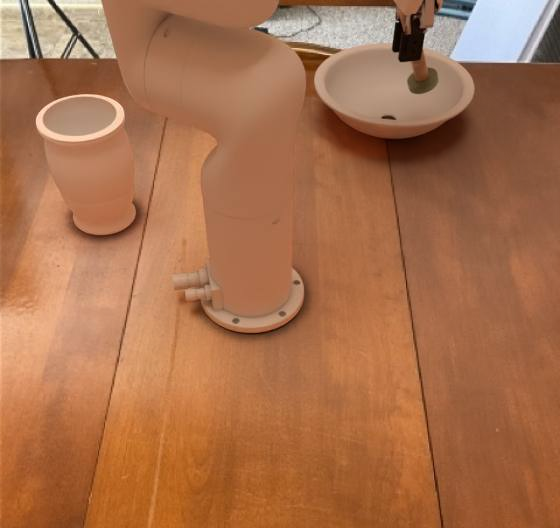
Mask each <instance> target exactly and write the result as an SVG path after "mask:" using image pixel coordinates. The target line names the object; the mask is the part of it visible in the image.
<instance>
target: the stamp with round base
mask: <svg viewBox="0 0 560 528" xmlns="http://www.w3.org/2000/svg"><path fill="white" fill-rule="evenodd" d="M398 10H399V15H400V19H401V23H402V27H403V31H405V23H406V15H405V14H404V13H403V12H402V11H401V10H400V9H399V7H398ZM415 18H416V16H414V17H413V20H414V19H415ZM411 64H412V68H413V73H412V74H411V75H410V76H409V77H408V80H407V84H408V88H409V91H410V92H411V93H414V94H423V93H427V92H429V91H431V90H432V89H434V88H435V87H436V86H437V84H438V81H439V79H438V74H437V71H436V70H435V69H434V68H429V67H427V64H426V60H425V55H424V51H423V49H422V55H421V59H420V60H418V61H411Z"/></svg>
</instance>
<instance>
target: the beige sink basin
mask: <svg viewBox="0 0 560 528" xmlns="http://www.w3.org/2000/svg"><path fill="white" fill-rule="evenodd" d="M392 43H393V42H391V43H390V42H384V43H383V42H382V43H381V42H379V43H369V44H367V43H366V44H362V45H357V46H353V47H349V48H346V49H343V50H340V51H338V52H336V53H334V54H333V55H330V56H329V57H328V58H326V59H325V60H323V61H322V63H321V64H319V66H318V67H317V69H316V71H315V73H314V78H313V86H314V90H315V92H316V94H317V96H318V98H319V99H320V100H321V101H322V102H323V103H324V105H326V107H328V108H330V109H331V110H332V111H333V113H334V114H335V115H336V116H337V117H338V118H339V119H340V120H341V121H342V122H344V124H346V125H348V126H349V127H350V128H352V129H354V130H355V131H358V132H360V133H363V134H365V135H368V136H371V137H375V138H380V139H389V140H398V139H400V140H401V139H408V138H414V137H418V136H420V135H421V136H422V135H424V134H427V133H429V132H431V131H434V130H435V129H436V128H439V127H440V126H442V125H443V124H444V123H446V122H447V121H448V120H451V119H453V118H455V117H456V116H458V115H460V114H461V113H463V112H464V111H465V110H466V109H467V108H468V107H469V105H470V104H471V103H472V101H473V99H474V96H475V82H474V80H473V77H472V75H471V74H470V73H469V71H468V70H467V69H466V68H465V67H464V66H463V65H462V64H461V63H460V62H458V61H457V60H455V59H453V58H452V57H450V56H447V55H445V54H443V53H440V52H439V51H437V50H432V49H431V48H426V47H423V51H424V55H425V60H426V64H427V67H429V68H434V69H435V70H436V71H437V74H438V79H439V81H438V84H437V86H436V87H435V88H434V89H432V90H431V91H429V92H427V93H423V94H414V93H411V92H410V91H409V88H408V84H407V80H408V77H409V76H410V75H411V74H412V73H413V68H412V64H411V61H410V62H400V61H399V60H398V55H399V52H397V53H394V52H393V51H392ZM384 117H392V118H394V119H388V118H387V119H386V118H384Z"/></svg>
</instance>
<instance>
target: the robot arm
mask: <svg viewBox="0 0 560 528" xmlns="http://www.w3.org/2000/svg"><path fill="white" fill-rule="evenodd" d="M392 1H393V2H394V4H395V5H396V6H395V14H394V19H395V22H394V28H393V36H392V37H393V38H392V42H391V43H392V51H393V52H394V53H397V52H399V55H398V60H399V61H400V62H410V61H418V60H420V59H421V55H422V49H423V48H424V44H425V43H424V42H425V38H426V37H425V36H426V34H427V32H428V29H430V28H434V25H435V14H438V13H439V12H440V10H441V9H442V7H443V3H444V0H392ZM100 2H101V6H102V10H103V13H104V16H105V21H106V25H107V28H108V32H109V35H110V40H111V43H112V47H113V50H114V54H115V58H116V61H117V65H118V68H119V72H120V74H121V75H120V76H121V78H122V81H123V83H124V85H125V87H126V90H127V91H128V93H129V95H130V97H132V99H133V100H134V101H135V103H137V104H138V105H139V106H140V107H142V108H143V109H145V110H147V111H148V112H151V113H153V114H156V115H158V116H161V117H162V118H163V117H164V118H166V119H169V120H172V121H174V122H177V123H181V124H183V125H186V126H188V127H189V126H190V127H192V128H194V129H196V130H198V131H201V132H203V133H206V134H208V135H210V136H212V137H213V138H214V139H215V141H216V146H214V147H213V148H212V149H211V150H210V152H209V153H208V154H207V155H206V157H205V159H204V160H203V163H202V166H201V170H200V189H201V197H202V206H203V215H204V224H205V225H204V226H205V232H206V233H205V234H206V242H207V250H208V251H207V253H208V257H206V258H205V259H204V261H205V266H204V267H198V268H197V271H194V272H193V271H192V272H179V273H173V274H171V279H172V280H171V281H172V285H173V286H172V287H173V291H181V290H184V295H185V301H186V302H194V301H197V300H200V302H201V306H202V309H203V311H204V312H205V314H206V315H207V316H208V317H209V318H210V320H211V321H213V322H214V323H215V324H217V325H218V326H220V327H223V328H225V329H226V330H231V331H232V332H233V331H234V332H236V333H237V332H238V333H243V334H244V333H246V334H248V333H249V334H253V333H254V334H256V333H263V332H264V333H265V332H269V331H271V330H276V329H278V328H280V327H282V326H284V325H286V324H287V323H289V322H291V320H292V319H294V318H295V316H296V315H297V314H298V313H299V312H300V310H301V308H302V306H303V303H304V299H305V286H304V282H303V279H302V277H301V275H300V274H299V273H298V272H297V270H296V269H295V268H293V215H294V214H293V213H294V211H293V210H294V164H295V163H294V161H295V151H296V141H297V135H298V131H299V125H300V120H301V116H302V111H303V106H304V101H305V96H306V91H307V90H306V88H307V74H306V70H305V66H304V64H303V61H302V59H301V57H300V56H299V54H298V53H297V52H296V51H295V49H293V48H292V47H291V46H290V45H289V44H287V43H286V42H284V41H283V40H281V39H279V38H277V37H275V36H273V35H271V34H268V33H266V32H263V31H260V30H257V29H254V28H255V27H259V26H261V25H262V24H264V23H265V22H267V21H268V20H269V19H270V18H271V17H272V16H273V15H274V14H275V12H276V10H277V8H278V6H279V3H280V0H100ZM398 7H399V9H400V10H401V11H402V12H403V13H404V14H405V15H406V23H405V31H403V27H402V23H401V19H400V15H399V10H398ZM414 16H416V18H415V19H414V20H413V17H414ZM418 16H420V17H418ZM194 287H200V288H194ZM190 288H191V289H190Z"/></svg>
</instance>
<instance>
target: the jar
mask: <svg viewBox="0 0 560 528" xmlns="http://www.w3.org/2000/svg"><path fill="white" fill-rule="evenodd" d="M125 122H126V115H125V109H124V108H123V106H122V105H121V104H120V102H118V101H116V100H115V99H113V98H110V97H108V96H105V95H101V94H92V93H91V94H90V93H83V94H82V93H81V94H73V95H68V96H64V97H60V98H59V99H55V100H54V101H52V102H50V103H48V104H46V105H45V106H43V108H42V109H40V111H39V112H38V113H37V115H36V118H35V125H36V130H37V132H38V134H39V135H40V137H41V138H42V139H43V147H44V153H45V159H46V162H47V166H48V170H49V173H50V175H51V177H52V179H53V182H54V184H55V185H56V187H57V189H58V190H59V193H60V195H61V198H62V199H63V201H64V203H65V204H66V206H67V207H68V208H69V209H70V212H72V213H73V214H72V219H73V220H72V221H73V223H74V225H75V227H77V229H79V230H80V231H81V232H83V233H86V234H89V235H94V236H106V235H107V236H108V235H113V234H116V233H119V232H122V231H124V230H125V229H127V228H128V227H130V225H131V224H132V223H133V222H134V220H135V219H136V215H137V211H136V207H135V205H134V203H133V201H134V197H135V161H134V155H133V150H132V146H131V143H130V139H129V136H128V133H127V130H126V128H125V127H124V126H125Z"/></svg>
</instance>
